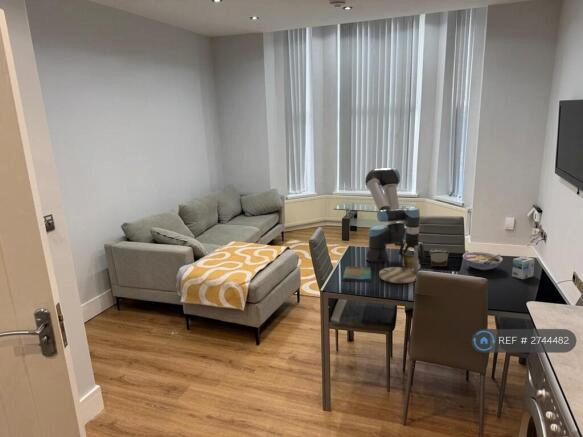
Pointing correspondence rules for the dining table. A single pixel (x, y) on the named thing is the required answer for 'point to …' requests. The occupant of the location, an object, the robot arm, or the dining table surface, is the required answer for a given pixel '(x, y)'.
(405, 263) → the ceramic cup
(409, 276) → the turntable
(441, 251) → the food container
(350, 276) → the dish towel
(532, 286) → the dining table surface
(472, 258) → the ramen bowl
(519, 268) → the light bulb box
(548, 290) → the dining table surface
